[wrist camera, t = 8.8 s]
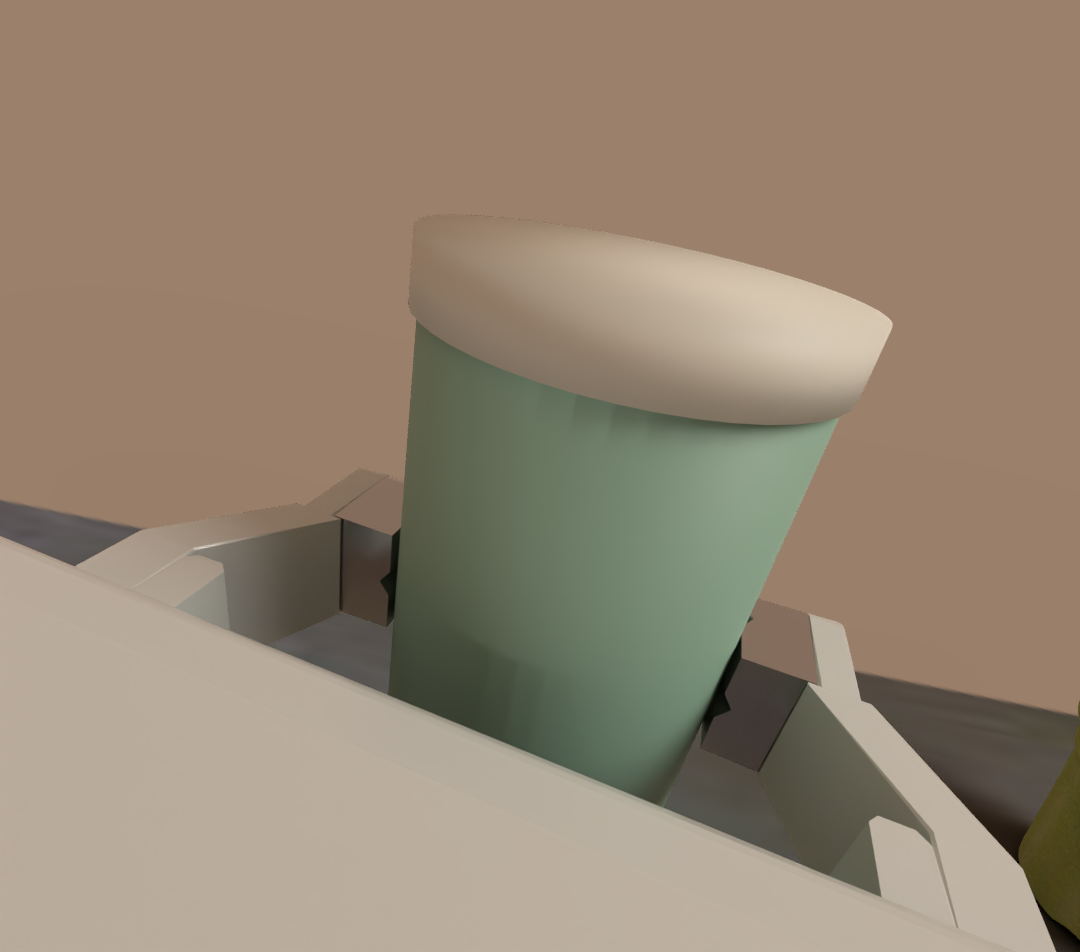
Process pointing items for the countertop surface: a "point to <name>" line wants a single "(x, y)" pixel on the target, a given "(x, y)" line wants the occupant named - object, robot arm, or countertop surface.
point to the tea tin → (602, 480)
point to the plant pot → (1057, 847)
